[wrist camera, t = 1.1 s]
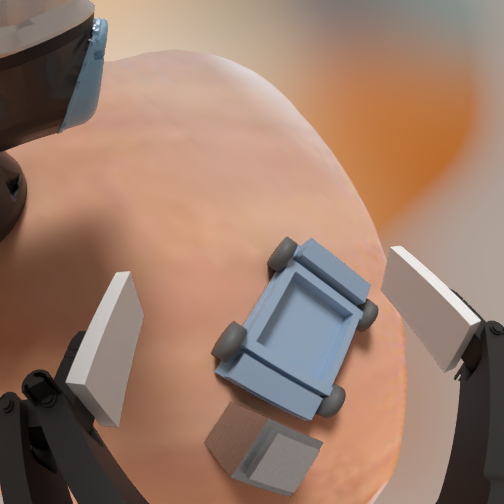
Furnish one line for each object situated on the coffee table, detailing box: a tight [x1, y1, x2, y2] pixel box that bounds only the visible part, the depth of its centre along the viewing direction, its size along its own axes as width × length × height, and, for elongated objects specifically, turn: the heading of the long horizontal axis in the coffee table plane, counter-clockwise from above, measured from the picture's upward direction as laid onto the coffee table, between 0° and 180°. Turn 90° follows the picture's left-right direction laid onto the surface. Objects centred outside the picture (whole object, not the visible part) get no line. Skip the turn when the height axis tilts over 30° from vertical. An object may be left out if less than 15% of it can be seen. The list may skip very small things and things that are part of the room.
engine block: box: [205, 402, 323, 497], centre depth 21 cm, size 6×6×12 cm
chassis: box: [211, 237, 378, 421], centre depth 32 cm, size 16×20×4 cm
